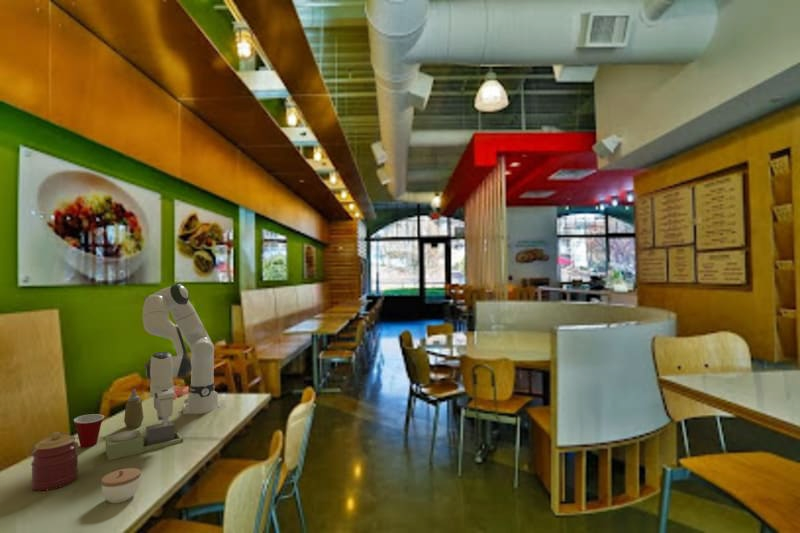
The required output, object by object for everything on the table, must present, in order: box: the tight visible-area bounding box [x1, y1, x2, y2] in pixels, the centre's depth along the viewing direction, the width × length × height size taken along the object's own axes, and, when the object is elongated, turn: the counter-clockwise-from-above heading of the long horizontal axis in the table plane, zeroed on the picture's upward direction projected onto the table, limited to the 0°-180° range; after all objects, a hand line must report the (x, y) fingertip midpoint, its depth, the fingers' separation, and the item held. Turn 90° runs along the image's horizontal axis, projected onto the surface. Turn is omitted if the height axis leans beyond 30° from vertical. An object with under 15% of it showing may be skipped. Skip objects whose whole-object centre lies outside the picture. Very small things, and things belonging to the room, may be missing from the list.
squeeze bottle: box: [123, 388, 145, 429], centre depth 206 cm, size 8×8×18 cm
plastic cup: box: [73, 413, 105, 449], centre depth 184 cm, size 11×11×12 cm
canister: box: [30, 431, 79, 491], centre depth 151 cm, size 13×13×18 cm
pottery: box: [173, 385, 189, 401], centre depth 256 cm, size 18×10×10 cm, turn 6°
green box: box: [105, 430, 184, 461], centre depth 181 cm, size 12×27×7 cm, turn 128°
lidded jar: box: [100, 467, 142, 504], centre depth 139 cm, size 11×11×9 cm
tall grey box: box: [145, 421, 175, 446], centre depth 184 cm, size 5×10×8 cm, turn 128°
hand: (162, 422), depth 185 cm, fingers open, 8 cm apart
